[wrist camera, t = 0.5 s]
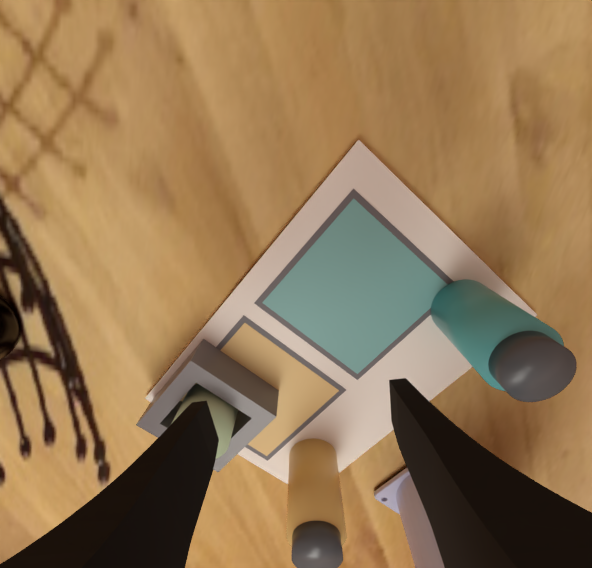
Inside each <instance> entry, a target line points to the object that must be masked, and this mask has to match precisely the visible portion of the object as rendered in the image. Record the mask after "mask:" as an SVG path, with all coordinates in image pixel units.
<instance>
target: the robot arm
mask: <svg viewBox="0 0 592 568" xmlns="http://www.w3.org/2000/svg"><path fill="white" fill-rule="evenodd" d="M389 387H390V404H391V421H392V425H393V428H394V432H395V435H396V439H397V442H398V445H399V449H400V451H401V454H402V456H403V458H404V461H405V463H406V466H407V468H405V469H404V470H403V471H401V472H400V473H399V474H397V475H396V476H395V477H393V478H392V479H390V480H389V481H388V482H386V483H385V484H384V485H382V486H381V487H380V488H378V489H377V490H376V491H375V492H374V496H375V499H376V500H378V501H380V502H381V503H383V504H384V505H386V506H387V507H389V508H391V509H392V510H394V511H395V512H397V513H398V514H400V516H401V519H402V523H403V526H404V530H405V533H406V537H407V540H408V544H409V547H410V550H411V554H412V557H413V561H414V564H415V568H592V513H591V512H589V511H587V510H585V509H583V508H582V507H580V506H578V505H576V504H574V503H572V502H571V501H569V500H567V499H565V498H563V497H561V496H560V495H558V494H556V493H554V492H552V491H551V490H549V489H547V488H545V487H544V486H542V485H540V484H539V483H537V482H535V481H534V480H532V479H531V478H529V477H527V476H526V475H524V474H522V473H521V472H519V471H518V470H516V469H514V468H513V467H511V466H510V465H508V464H507V463H505V462H504V461H502V460H501V459H499V458H498V457H496V456H495V455H494V454H492V453H491V452H489V451H488V450H487V449H485V448H484V447H483V446H481V445H480V444H479V443H477V442H476V441H475V440H473V439H472V438H471V437H470V436H468V435H467V434H466V433H465V432H463V431H462V430H461V429H460V428H458V427H457V426H456V425H455V424H454V423H453V422H451V421H450V420H449V419H448V418H447V417H446V416H445V415H443V414H442V413H441V412H440V411H439V410H438V409H437V408H436V407H435V406H434V405H432V404H431V403H430V402H429V401H428V400H427V399H426V398H425V397H424V396H423V395H422V394H421V393H420V392H419V391H418V390H417V389H416V388H415V387H414V386H413V385H412V384H411V383H410V382H409V381H408V380H407V379H406V378H402V379H393V380H389ZM218 443H219V438H218V435H217V432H216V428H215V425H214V422H213V419H212V416H211V413H210V409H209V406H208V403H207V401H199V402H192V403H191V404H190V405H189V406H188V407H187V408H186V409H185V410H184V411H183V412H182V413H181V414H180V415H179V416H178V417H177V419H176V420H175V421H174V422H173V423H172V424H171V425H170V426H169V427H168V428H167V429H166V430H165V431H164V432H163V433H162V435H161V436H160V437H159V438H158V439H157V440H156V441H155V442H154V443H153V444H152V445H151V446H150V447H149V448H148V449H147V450H146V451H145V452H144V453H143V454H142V455H141V456H140V457H139V458H138V459H137V460H136V461H135V462H134V463H133V464H132V465H131V466H130V467H129V468H127V469H126V470H125V471H124V472H123V473H122V474H121V475H120V476H119V477H118V478H117V479H115V480H114V481H113V482H112V483H111V484H110V485H108V486H107V487H106V488H105V489H104V490H103V491H101V492H100V493H99V494H98V495H97V496H95V497H94V498H93V499H92V500H90V501H89V502H88V503H87V504H85V505H84V506H83V507H81V508H80V509H79V510H77V511H76V512H75V513H74V514H72V515H71V516H70V517H68V518H67V519H66V520H65V521H63V522H62V523H61V524H59V525H58V526H56V527H55V528H54V529H52V530H51V531H49V532H48V533H47V534H45V535H44V536H42V537H41V538H39V539H38V540H36V541H35V542H34V543H32V544H31V545H29V546H28V547H26V548H25V549H23V550H22V551H20V552H19V553H17V554H16V555H14V556H13V557H11V558H10V559H8V560H6V561H5V562H3V563H2V564H0V568H185V564H186V560H187V556H188V551H189V547H190V543H191V540H192V536H193V532H194V529H195V526H196V523H197V520H198V516H199V513H200V510H201V507H202V504H203V501H204V497H205V494H206V491H207V488H208V485H209V481H210V478H211V475H212V472H213V468H214V464H215V459H216V454H217V448H218Z"/></svg>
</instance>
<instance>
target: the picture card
mask: <svg viewBox="0 0 592 568" xmlns="http://www.w3.org/2000/svg"><path fill="white" fill-rule="evenodd" d="M463 279H469V280H475V281H477V282H480V283H481V284H483V285H484V286H486V287H488V288H489V289H491V290H492V291H494V292H496V293H497V294H499V295H500V296H502V297H504V298H505V299H507V300H508V301H510V302H512V303H513V304H515V305H516V306H518V307H519V308H521V309H523V310H524V311H526V312H527V313H529V314H531V315H532V316H534V317H536V316H537V314H536V313H535V312H534V311H533V310H532V309H531V308H530V307H529V306H528V305H527V304H526V303H525V302H524V301H523V300H522V299H521V298H520V297H519V296H518V295H517V294H516V293H515V292H514V291H513V290H512V289H510V288H509V287H508V286H507V285H506V284H505V283H504V282H503V281H502V280H501V279H500V278H499V277H498V276H497V275H496V274H495V273H494V272H493V271H492V270H491V269H490V268H489V267H488V266H487V265H486V264H485V263H484V262H483V261H482V260H481V259H480V258H479V257H478V256H477V255H476V254H475V253H474V252H473V251H472V250H471V249H470V248H469V247H468V246H467V245H466V244H465V243H464V242H463V241H462V240H461V239H459V238H458V237H457V236H456V235H455V234H454V233H453V232H452V231H451V230H450V229H449V228H448V227H447V226H446V225H445V224H444V223H443V222H442V221H441V220H440V219H439V218H438V217H437V216H436V215H435V214H434V213H433V212H432V211H431V210H430V209H429V208H428V207H427V206H426V205H425V204H424V203H423V202H422V201H421V200H420V199H419V198H418V197H417V196H416V195H415V194H414V193H413V192H412V191H411V190H410V189H409V188H407V187H406V186H405V185H404V184H403V183H402V182H401V181H400V180H399V179H398V178H397V177H396V176H395V175H394V174H393V173H392V172H391V171H390V170H389V169H388V168H387V167H386V166H385V165H384V164H383V163H382V162H381V161H380V160H379V159H378V158H377V157H376V156H375V155H374V154H373V153H372V152H371V151H370V150H369V149H368V148H367V147H366V146H365V145H364V144H363V143H362V142H361V141H360V140H357V142H356V143H355V144H354V145H353V147H352V148H351V149H350V150H349V151H348V153H347V154H346V155H345V156H344V157H343V159H342V160H341V161H340V162H339V163H338V165H337V166H336V167H335V168H334V170H333V171H332V172H331V173H330V174H329V176H328V177H327V178H326V179H325V180H324V182H323V183H322V184H321V185H320V186H319V188H318V189H317V190H316V191H315V193H314V194H313V195H312V196H311V197H310V199H309V200H308V201H307V202H306V203H305V205H304V206H303V207H302V208H301V209H300V211H299V212H298V213H297V214H296V216H295V217H294V218H293V219H292V220H291V222H290V223H289V224H288V225H287V226H286V228H285V229H284V230H283V231H282V232H281V234H280V235H279V236H278V237H277V239H276V240H275V241H274V242H273V243H272V245H271V246H270V247H269V248H268V249H267V251H266V252H265V253H264V254H263V256H262V257H261V258H260V259H259V260H258V262H257V263H256V264H255V265H254V266H253V268H252V269H251V270H250V271H249V272H248V274H247V275H246V276H245V277H244V279H243V280H242V281H241V282H240V283H239V285H238V286H237V287H236V288H235V289H234V291H233V292H232V293H231V294H230V295H229V297H228V298H227V299H226V300H225V302H224V303H223V304H222V305H221V306H220V308H219V309H218V310H217V311H216V312H215V314H214V315H213V316H212V317H211V318H210V320H209V321H208V322H207V323H206V325H205V326H204V327H203V328H202V329H201V331H200V332H199V333H198V334H197V335H196V337H195V338H194V339H193V340H192V341H191V343H190V344H189V345H188V346H187V348H186V349H185V350H184V351H183V352H182V354H181V355H180V356H179V357H178V358H177V360H176V361H175V362H174V363H173V365H172V366H171V367H170V368H169V369H168V371H167V372H166V373H165V374H164V375H163V377H162V378H161V379H160V380H159V381H158V383H157V384H156V385H155V386H154V388H153V389H152V390H151V391H150V392H149V394H148V395H147V396H146V397H145V399H147V400H148V401H150V402H151V401H152V400H153V398H154V397H155V396H156V394H157V393H158V392H159V391H160V390H161V389H162V387H163V386H164V385H165V384H166V383H167V381H168V380H169V379H170V378H171V377H172V375H173V374H174V373H175V372H176V371H177V369H178V368H179V367H180V366H181V365H182V363H183V362H184V361H185V360H186V359H187V358H188V356H189V355H190V354H191V353H192V352H193V350H194V349H195V348H196V347H197V346H198V344H199V343H200V342H201V341H202V340H203V339H205V340H206V341H208V342H209V343H211V344H212V345H214V346H215V347H216V348H218V349H219V350H220V351H222V352H223V353H225V354H226V355H227V356H229V357H230V358H232V359H233V360H235V361H236V362H238V363H239V364H241V365H242V366H244V367H245V368H247V369H248V370H250V371H251V372H252V373H254V374H255V375H257V376H258V377H260V378H261V379H263V380H264V381H266V382H267V383H269V384H270V385H272V386H273V387H274V388H276V389H277V390H279V396H278V406H277V416H276V418H275V419H274V420H273V421H271V422H270V423H269V424H268V425H267V426H266V427H265V428H264V429H263V430H262V431H261V432H260V433H259V434H258V435H257V436H256V437H255V438H254V439H253V440H251V441H250V442H249V443H248V444H247V445H246V446H245V447H244V448H243V449H242V450H241V451H240V452H239V453H238V455H240V456H241V457H243V458H245V459H246V460H248V461H250V462H251V463H253V464H255V465H256V466H258V467H260V468H261V469H263V470H265V471H266V472H268V473H270V474H271V475H273V476H275V477H276V478H278V479H280V480H281V481H283V482H285V483H286V484H288V475H289V454H290V450H291V449H292V447H293V446H294V445H295V444H296V443H298V442H300V441H302V440H305V439H313V438H314V439H321V440H324V441H326V442H328V443H329V444H331V445H332V446H333V447H334V449H335V451H336V455H337V463H338V471H339V473H340V472H341V471H342V470H343V469H345V468H346V467H347V466H348V465H350V464H351V463H352V462H353V461H355V460H356V459H357V458H358V457H360V456H361V455H362V454H363V453H365V452H366V451H367V450H368V449H370V448H371V447H372V446H373V445H375V444H376V443H377V442H379V441H380V440H381V439H382V438H384V437H385V436H386V435H387V434H389V433H390V432H391V431H392V430H394V428H393V425H392V421H391V404H390V387H389V380H393V379H402V378H406V379H407V380H408V381H409V382H410V383H411V384H412V385H413V386H414V387H415V388H416V389H417V390H418V391H419V392H420V393H421V394H422V395H423V396H424V397H425V398H426V399H427V400H428V401H430V400H431V399H433V398H434V397H435V396H436V395H438V394H439V393H440V392H441V391H443V390H444V389H445V388H446V387H448V386H449V385H450V384H452V383H453V382H454V381H455V380H457V379H458V378H459V377H460V376H462V375H463V374H464V373H465V372H467V371H468V370H469V369H470V368H472V367H473V366H472V365H471V364H470V363H469V362H468V361H467V360H466V358H465V357H464V356H463V355H462V354H461V353H460V352H459V351H458V349H457V348H456V347H455V346H454V345H453V344H452V343H451V341H450V340H449V339H448V338H447V337H446V336H445V335H444V334H443V332H442V331H441V330H440V329H439V328H438V327H437V326H436V324H435V323H434V322H433V320H432V317H431V305H432V302H433V300H434V298H435V296H436V295H437V293H438V292H439V291H440V290H441V289H442V288H444V287H445V286H446V285H448V284H450V283H452V282H454V281H458V280H463ZM196 384H198V383H195V384H194V385H196ZM194 385H193V386H194ZM186 394H187V393H186ZM186 394H185V395H184V397H183V398H182V399H181V400H180V401H182V402H183V400H184V398H185V396H186ZM238 411H239V410H238Z"/></svg>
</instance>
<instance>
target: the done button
mask: <svg viewBox="0 0 592 568" xmlns="http://www.w3.org/2000/svg"><path fill="white" fill-rule="evenodd" d="M199 401H207V403H208V406H209V409H210V413H211V416H212V419H213V422H214V425H215V428H216V432H217V435H218V438H219V443H218V448H217V454H216V459H217V458H219V457H221V456H222V455H223V454H224V453H225V452H226V451H227V449H228V447H229V443H230V440H231V436H232V432H233V428H234V424H235V421H236V417H237V413H238V409H237V408H235V407H234V406H232V405H230V404H229V403H227V402H226V401H224V400H223V399H221V398H219V397H218V396H216V395H215V394H213V393H212V392H210V391H209V390H207V389H205V388H204V387H202V386H201V385H199V384H196V385H194V386H192V388H191V389H190V390H189V391H188V392H187V394H186V396H185V398H184V400H183V402H182V404H181V406H180V408H179V410H178V412H177V414H176V416H175V418H174V420H173V421H172V423H173V422H174V421H175V420H176V419H177V417H178V416H179V415H180V414H181V413H182V412H183V411H184V410H185V409H186V408H187V407H188V406H189V405H190V404H191V403H192V402H199ZM172 423H171V424H172Z"/></svg>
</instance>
